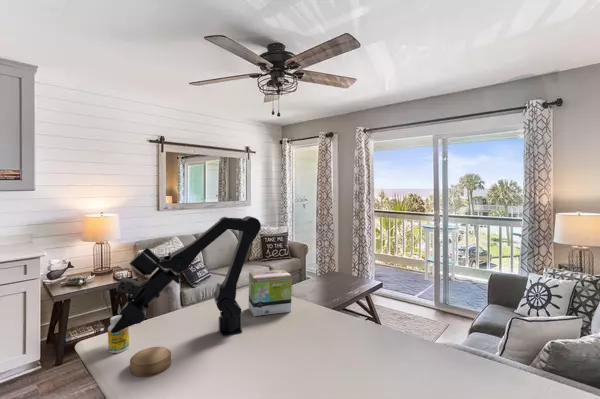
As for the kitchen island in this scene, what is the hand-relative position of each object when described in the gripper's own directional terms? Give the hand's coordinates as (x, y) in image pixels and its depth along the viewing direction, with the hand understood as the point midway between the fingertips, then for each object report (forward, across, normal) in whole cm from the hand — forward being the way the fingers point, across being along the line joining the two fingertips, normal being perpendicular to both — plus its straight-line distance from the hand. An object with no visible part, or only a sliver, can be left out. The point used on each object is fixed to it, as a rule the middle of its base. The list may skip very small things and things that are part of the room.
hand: (114, 325), depth 94 cm
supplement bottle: (+4, 0, +6) cm, 7 cm away
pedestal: (-2, +14, +12) cm, 19 cm away
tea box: (-31, -13, +42) cm, 54 cm away
